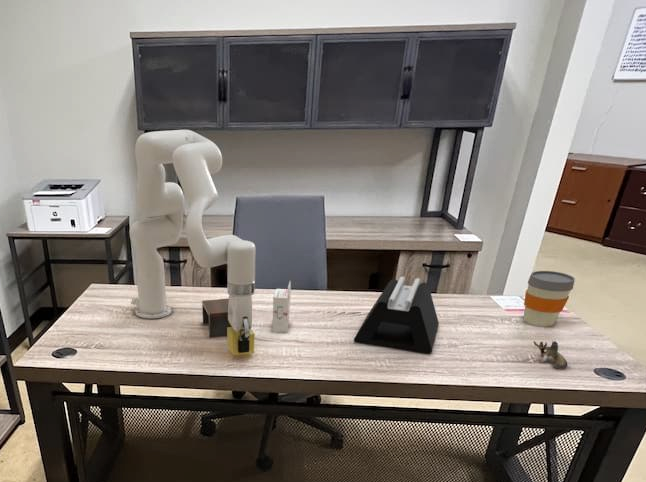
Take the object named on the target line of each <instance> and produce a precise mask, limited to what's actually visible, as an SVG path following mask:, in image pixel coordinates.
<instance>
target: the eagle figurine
mask: <svg viewBox="0 0 646 482" xmlns="http://www.w3.org/2000/svg"><path fill="white" fill-rule="evenodd" d="M533 345H534V346H535V347H537V348H538V350H539V351H540V355H541V357H543V358H542V360H541V363H544V362H547V360H548V359H549V358H553V360H554V365H555V368H557V369H559V370H565V369H566V368H568V362H567V360H566V358H565V357H564V356H563V355H562V354H561V353H560V352H558V351H559V343H558V342H557V341H556V340H554V339H552V340H551V345H550V346H548V342H547V341H545V343H544V341H540V342H539V344H538V342H536V341H535V340H534V341H533Z"/></svg>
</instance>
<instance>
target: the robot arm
mask: <svg viewBox="0 0 646 482" xmlns="http://www.w3.org/2000/svg"><path fill="white" fill-rule="evenodd" d="M134 155H135V162H136V168H137V171H136V172H137V173H136V175H137V176H136V193H135V206H136V211H137V213H138V214H139V215H140V217H143V219H140V220H136V221H135V222H133V223H132V225H131V226H130V228H129V239H130V240H129V241H130V243H131V246H132V251H133V256H134V257H133V258H134V264H135V275H136V284H137V285H136V286H137V296H138V297H136V296H133V297H132V298H131V301H130V304H131V305H132V306H133V305H135V306H136V308H135V309H134V313H135V315H136V316H137V317H139V318H141V319H148V320H149V319H151V320H152V319H153V320H154V319H160V318H164V317H168V316H169V315H170V314H171V313H172V307H171V306H170V305H169V304H167V290H166V275H165V273H166V272H165V263H164V258H163V257H162V256H161V254H160V253H159V251H158V249H160V248H163V247H169V246H172V245H175V244H177V243H178V242H179V241H180V239H181V237H182V233H183V232H182V231H183V223H184V214H185V204H186V203H185V201H187V204H188V209H189V210H188V212H187V215H186V221H185V237H186V241H187V244H188V247H189V249H190V251H191V254H192V256H193V258H194V260H195V262H196V263H197V264H198V265H199V267H201V268H204V269H210V268H215V267H218V266H219V267H220V266H222V265H226V266H227V276H226V277H227V280H226V281H227V285H226V286H227V294H228V298H229V303H228V321H229V323H230V324H231V326H232V328H233V329H234V330H235V331H238V330H239V340H238V352H239V353H244V352H249V340H250V337H249V336H250V329H252V327H253V297H252V296H253V295H255V290H256V254H257V253H256V251H257V249H256V245H255V243H254V242H253V241H250V240H245V239H242V238H240V237H239V236H237V235H235V234H225V235H220V236H215V237H210V238H207V237H206V235H205V232H204V229H203V222H202V220H203V215H204V214H205V212H206V211H207V210H208V209H209V208H211V207H212V206H213V205H214V204H216V202H217V201H218V198H219V193H218V191H217V188H216V186H215V184H214V181H213V179H212V175H215V174H217V173H219V172H220V171H221V169H222V166H223V155H222V152H221V150H220V148H219V147H218V146H217V144H216V143H214V141H212V140H210V139H208V138H207V137H205V136H203V135H201V134H199V133H197V132H195V131H193V130H190V129H175V130H174V129H173V130H157V131H156V130H155V131H148V132H145V133H142V134H141V135H140V136H139V137H138V138H137V139H136V142H135V145H134ZM167 164H172V165H173V169H174V171H175V173H176V176H177V179H178V182H179V183H180V185H179V184H178V183H176V182H172V181H169V182H166V176H167V175H166V169H165V167H164V165H167ZM185 199H186V200H185ZM241 327H244V329H241ZM241 331H244V333H243V334H242V333H241Z"/></svg>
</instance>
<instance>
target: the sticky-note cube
mask: <svg viewBox="0 0 646 482" xmlns="http://www.w3.org/2000/svg"><path fill="white" fill-rule="evenodd" d="M241 329H244V327H241ZM241 333H242V334H243V333H244V331H241ZM249 337H250V340H249V352H244V353H239V352H238V340H239V330H238V331H235V330H234V329H233V328H232V327H227V336H226V341H227V342H226V345H227V346H226V347H227V348H228V351H230V354H231V355H232V356H237V355H238V356H239V355H246V354H255V332H254V331H253V330H252V328H251V329H250V336H249Z"/></svg>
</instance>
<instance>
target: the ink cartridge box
mask: <svg viewBox="0 0 646 482" xmlns="http://www.w3.org/2000/svg"><path fill="white" fill-rule="evenodd" d="M291 281H292V280H289V282H288V286H287V288H275V291H274V293H273V297H272V327H271V328H272V330H271V331H272V333H288V329H289V323H290V322H289V321H290V311H291V310H290V309H291V308H290V307H291V295H292V293H291V292H292V286H291V285H292V282H291Z"/></svg>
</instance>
